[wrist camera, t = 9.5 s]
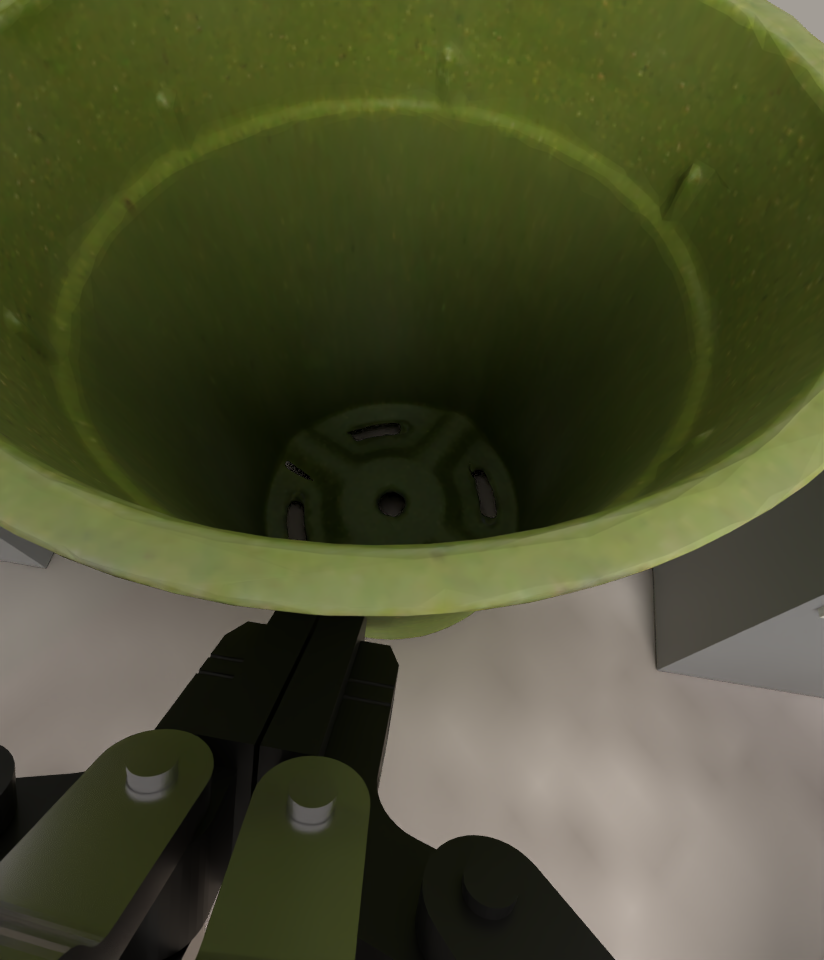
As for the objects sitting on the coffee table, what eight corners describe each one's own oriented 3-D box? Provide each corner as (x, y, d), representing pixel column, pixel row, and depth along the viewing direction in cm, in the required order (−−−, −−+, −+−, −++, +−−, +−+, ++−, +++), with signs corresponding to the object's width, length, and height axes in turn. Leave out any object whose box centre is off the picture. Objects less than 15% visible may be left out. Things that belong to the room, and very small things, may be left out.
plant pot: (418, 296, 21) (446, -168, 11) (683, 548, 16) (1135, 175, 6) (95, 477, 17) (-329, 21, 7) (334, 863, 13) (142, 1117, 3)
